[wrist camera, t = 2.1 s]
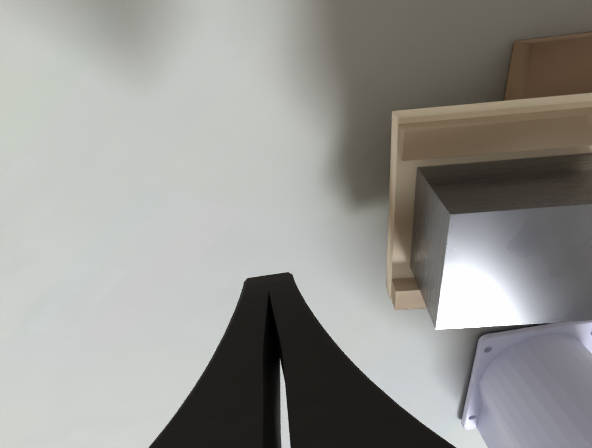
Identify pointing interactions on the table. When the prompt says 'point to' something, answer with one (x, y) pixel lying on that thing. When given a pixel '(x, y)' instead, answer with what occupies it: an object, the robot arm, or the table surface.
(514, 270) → the block
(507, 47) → the table surface
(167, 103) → the table surface
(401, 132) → the balance beam
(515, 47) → the beam stand
